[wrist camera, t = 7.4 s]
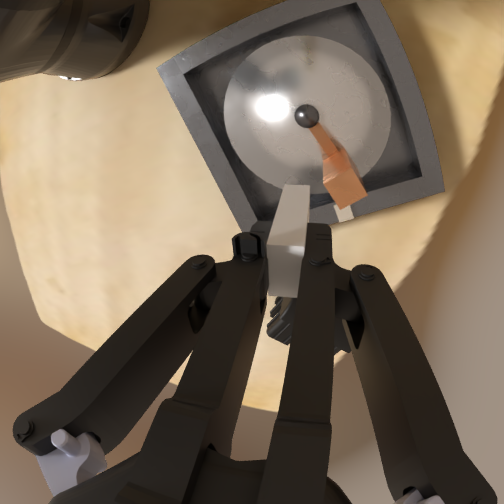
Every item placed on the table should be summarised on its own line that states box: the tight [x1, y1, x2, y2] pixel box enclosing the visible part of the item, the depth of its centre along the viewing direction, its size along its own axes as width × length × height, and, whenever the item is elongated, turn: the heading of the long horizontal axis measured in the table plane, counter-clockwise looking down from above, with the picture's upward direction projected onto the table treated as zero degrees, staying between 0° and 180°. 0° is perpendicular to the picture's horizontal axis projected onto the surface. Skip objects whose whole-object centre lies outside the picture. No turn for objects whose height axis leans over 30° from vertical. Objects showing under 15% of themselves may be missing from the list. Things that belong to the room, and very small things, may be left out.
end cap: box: [267, 296, 351, 355], centre depth 34 cm, size 10×7×7 cm
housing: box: [156, 0, 445, 232], centre depth 23 cm, size 20×20×4 cm
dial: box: [224, 36, 391, 210], centre depth 20 cm, size 14×14×8 cm
